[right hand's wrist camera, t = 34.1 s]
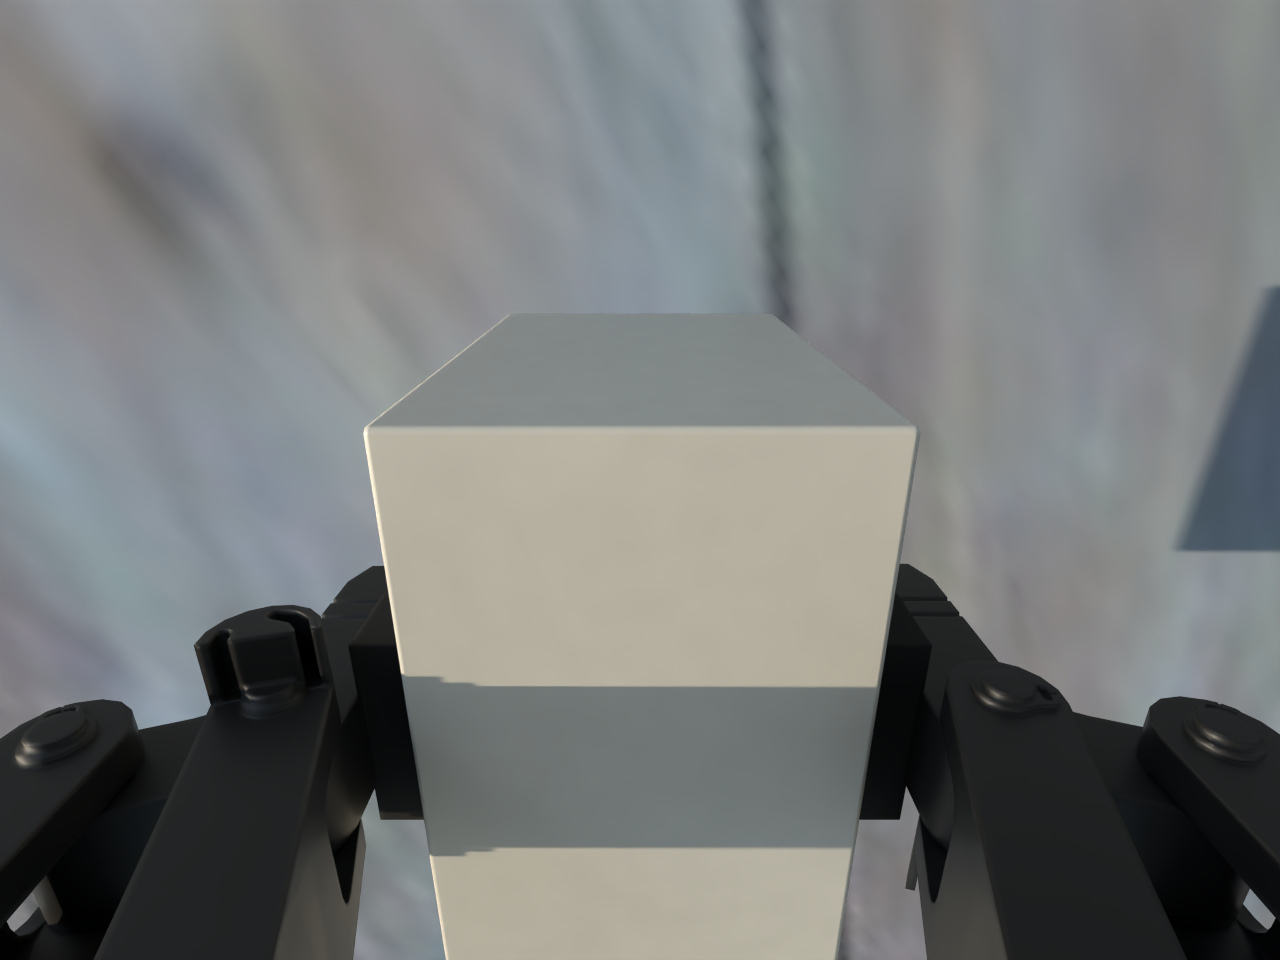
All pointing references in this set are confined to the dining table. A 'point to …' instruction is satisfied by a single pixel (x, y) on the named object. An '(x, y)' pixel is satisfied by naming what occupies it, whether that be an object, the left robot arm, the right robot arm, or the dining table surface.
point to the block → (641, 631)
